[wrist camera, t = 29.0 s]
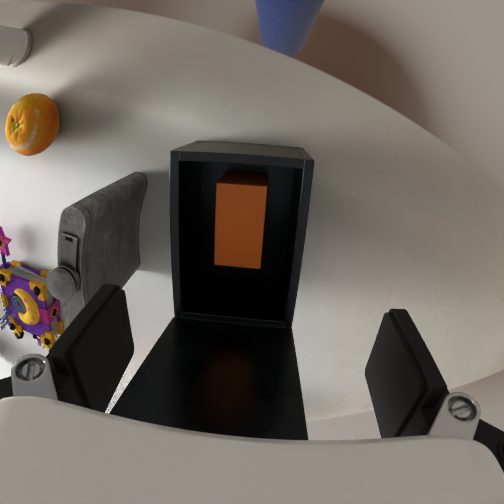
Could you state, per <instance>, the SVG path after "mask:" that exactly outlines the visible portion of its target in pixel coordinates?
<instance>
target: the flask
mask: <svg viewBox="0 0 504 504" xmlns="http://www.w3.org/2000/svg"><path fill="white" fill-rule="evenodd" d="M146 187H147V179H146V177H145V176H144V175H143V174H142V173H139V172H134V173H132V174H130V175H128V176H126V177H124V178H122V179H120V180H118V181H116V182H114V183H112V184H110V185H108V186H106V187H104V188H102V189H100V190H98V191H96V192H94V193H92V194H90V195H89V196H87V197H85V198H83V199H81V200H79V201H78V202H76V203H74V204H72V205H70V206H69V207H67V208H65V209H64V210H63V211H62V213H61V218H60V224H59V232H58V252H57V256H58V267H57V268H55V269H53V270H51V271H50V272H49V273H48V274H47V276H46V285H47V288H48V290H49V292H50V293H51V295H52V296H53V297H54V298H56V299H58V300H59V301H63V304H64V308H65V312H66V315H67V318H68V321H69V324H70V323H71V322H72V321H73V320H74V318H75V317H76V316H77V315H78V314H79V312H80V311H81V310H82V309H83V307H84V306H85V305H86V304H87V303H88V302H89V300H90V299H91V298H92V297H93V296H94V294H95V293H96V292H97V291H98V290H99V289H100V287H101V286H102V285H103V284H105V283H107V284H114V285H119V286H120V287H121V289H122V288H123V286H124V285H125V284H126V283H127V281H128V280H129V279H130V277H131V276H132V275H133V274H134V272H135V271H136V270H137V269H138V267H139V266H140V256H139V244H138V232H139V219H140V211H141V206H142V201H143V197H144V194H145V190H146Z"/></svg>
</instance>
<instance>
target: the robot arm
mask: <svg viewBox="0 0 504 504" xmlns="http://www.w3.org/2000/svg"><path fill="white" fill-rule="evenodd" d="M133 353H134V343H133V338H132V333H131V327H130V321H129V315H128V309H127V302H126V296H125V291H124V290H122V289H121V287H120V286H119V285H114V284H107V283H105V284H103V285H102V286H101V287H100V289H99V290H98V291H97V292H96V293H95V294H94V296H93V297H92V298H91V299H90V300H89V302H88V303H87V304H86V305H85V306H84V307H83V309H82V310H81V311H80V312H79V314H78V315H77V316H76V317H75V318H74V320H73V321H72V322H71V323H70V325H69V326H68V327H67V328H66V330H65V331H64V332H63V333H62V335H61V336H60V337H59V338H58V340H57V341H56V342H55V343H54V345H53V346H52V347H51V349H50V350H49V354H48V355H47V356H46V358H45V357H44V356H42V355H40V354H28V355H25V356H23V357H21V358H20V359H18V360H17V361H16V362H15V363H14V365H13V367H12V370H11V376H10V377H7V378H4V379H1V380H0V504H504V432H503V431H501V430H499V429H498V428H496V427H494V426H492V425H490V424H488V423H486V422H484V421H483V420H481V419H480V413H481V411H480V407H479V405H478V403H477V401H476V400H475V399H474V398H472V397H471V396H469V395H468V394H465V393H462V392H454V393H449V391H448V389H447V385H446V383H445V381H444V379H443V377H442V375H441V373H440V371H439V369H438V367H437V365H436V363H435V361H434V359H433V358H432V356H431V354H430V352H429V350H428V348H427V346H426V344H425V342H424V341H423V339H422V337H421V335H420V333H419V331H418V330H417V328H416V326H415V324H414V322H413V321H412V319H411V317H410V315H409V314H408V312H407V310H405V309H390V310H389V312H388V313H385V314H384V316H383V319H382V322H381V325H380V328H379V331H378V334H377V337H376V340H375V343H374V346H373V349H372V351H371V354H370V357H369V360H368V362H367V365H366V368H365V377H366V381H367V384H368V388H369V392H370V395H371V399H372V403H373V407H374V411H375V415H376V418H377V422H378V426H379V430H380V435H381V439H363V440H362V439H361V440H328V441H327V440H323V441H318V440H317V441H313V440H311V441H309V440H280V439H262V438H249V437H238V436H229V435H220V434H212V433H204V432H197V431H191V430H184V429H178V428H172V427H167V426H161V425H156V424H151V423H146V422H141V421H137V420H132V419H128V418H124V417H120V416H115V415H111V414H107V413H105V411H106V409H107V407H108V405H109V403H110V400H111V398H112V396H113V394H114V392H115V390H116V388H117V386H118V384H119V382H120V380H121V378H122V376H123V374H124V372H125V370H126V368H127V366H128V364H129V362H130V360H131V358H132V356H133Z"/></svg>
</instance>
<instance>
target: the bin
mask: <svg viewBox="0 0 504 504" xmlns="http://www.w3.org/2000/svg"><path fill="white" fill-rule="evenodd" d="M313 169H314V160H313V159H312V158H311V157H310V155H309V154H308V153H307V152H306V151H305V150H304V149H303V148H298V147H288V146H277V145H265V144H252V143H236V142H216V141H195V142H193V143H190V144H187V145H185V146H182V147H180V148H177V149H174V150H172V151H170V238H171V264H172V284H173V300H174V314H175V317H178V318H186V319H194V320H203V321H212V322H222V323H231V324H242V325H253V326H265V327H278V328H292V322H293V316H294V310H295V303H296V297H297V290H298V284H299V277H300V270H301V264H302V257H303V249H304V242H305V235H306V227H307V219H308V212H309V203H310V195H311V187H312V178H313ZM226 171H236V172H250V173H263V174H268V185H267V197H266V209H265V221H264V233H263V245H262V257H261V268H260V269H256V268H245V267H233V266H222V265H214V252H215V213H216V185H217V182H218V181H219V179H220V178H221V177H222V176H223V174H224V173H225V172H226Z"/></svg>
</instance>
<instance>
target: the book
mask: <svg viewBox="0 0 504 504" xmlns="http://www.w3.org/2000/svg"><path fill="white" fill-rule="evenodd" d="M10 241H11V239H9V238H7V237H5V235H4V232H3V230H2V227H0V250H1V256H2V262H3V264H2V265H0V284H1V288H2V293H1V299H2V303H3V306H4V307H6V308H5V309H6V313H5V315H6V316H5V315H4V316H5V317H4V316H3V317H4V319H3V321H4V320H6V319H7V320H6V323H7V324H8V325H9V326H10V329H11V330H13V331H14V334H15V336H16V338H17V339H21V338H23V335H24V332H23V330H25V331H27V332H30V333H31V334H32V335H33V338H34V339H37V340H38V345H39V346H41V343H42V344H43V348H45V347H46V348H47V349H48V350H50V347H51V346H53V345H54V343H55V342H56V340H55V337H56V338H57V334H60V335H62V333H63V332H64V328H63V322H62V320H60V316H59V313H60V305H59V300H58V299H56V298H54V297H53V296H52V295H51V293H50V292H49V290H48V288H47V285H46V276H47V274H48V273H49V271H45V270H42V271H41V272H40V271H37V270H34V269H31V268H28V267H25V266H22V263H19V262H16V261H12V262H6V259H5V254H6V255H7V256H9V255H10V253H9V249H8V244H9V242H10ZM5 309H4V310H3V311H5ZM3 317H2V318H3ZM0 320H1V318H0ZM3 321H2V322H1V324H2V323H3ZM4 322H5V321H4ZM6 323H3V325H5V324H6ZM1 324H0V325H1ZM7 324H6V325H7ZM3 325H2V326H3ZM6 325H5V326H6ZM2 326H1V329H3V327H4V326H3V327H2ZM4 328H5V327H4ZM37 336H39V337H40V339H41V340H40V339H38V338H37Z"/></svg>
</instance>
